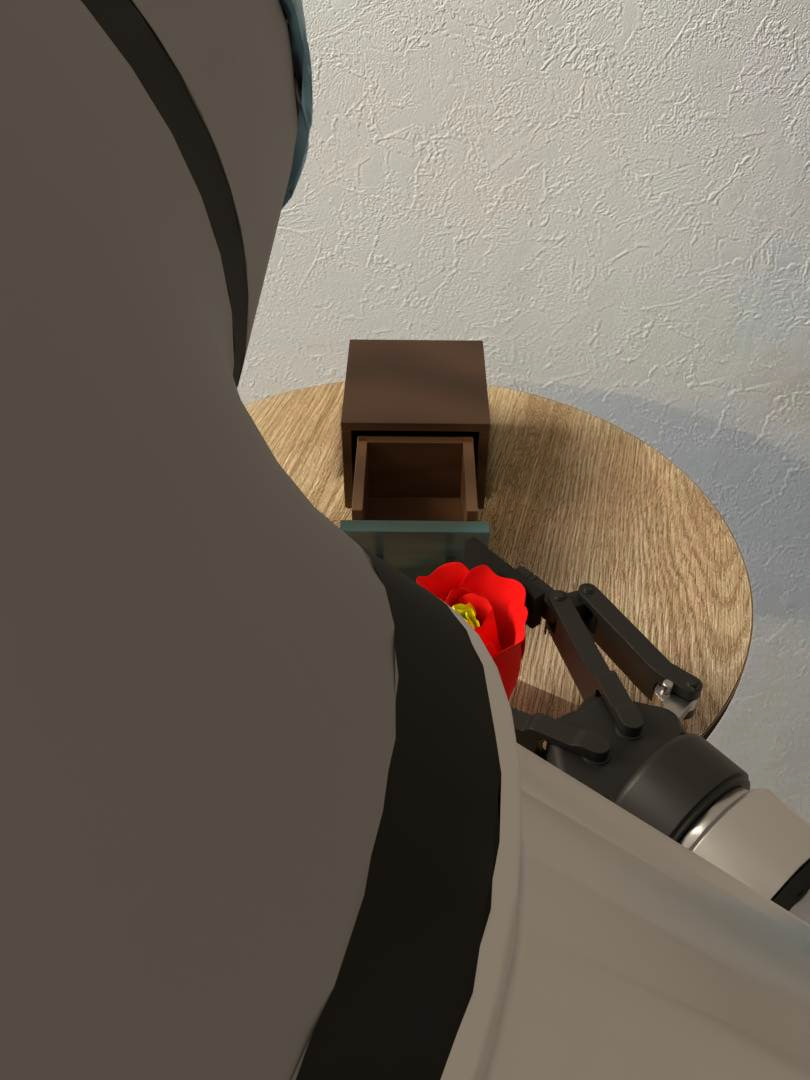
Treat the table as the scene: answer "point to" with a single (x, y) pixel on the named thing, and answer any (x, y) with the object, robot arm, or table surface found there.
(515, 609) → the flower
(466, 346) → the cabinet
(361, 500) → the drawer
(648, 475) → the table surface
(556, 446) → the table surface
